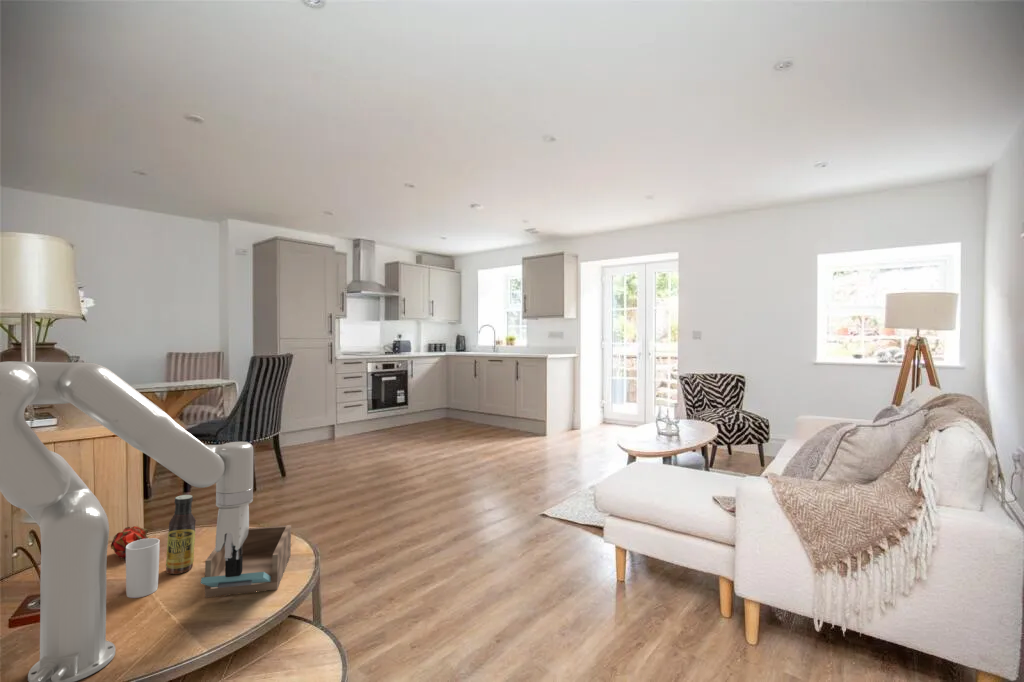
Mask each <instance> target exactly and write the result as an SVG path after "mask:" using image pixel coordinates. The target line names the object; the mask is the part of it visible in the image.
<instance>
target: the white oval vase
mask: <svg viewBox="0 0 1024 682" xmlns="http://www.w3.org/2000/svg"><path fill="white" fill-rule="evenodd" d="M159 569H160V539H159V538H155V537H149V538H146V539H141V540H137V541H134V542H131V543H129V544H128V545H127V546H126V559H125V588H126V589H125V593H126V597H127V598H129V599H137V598H144V597H146V596H149V595H151V594H153V593H155V592H157V590H158V588H159V587H158V586H159V572H160V571H159Z"/></svg>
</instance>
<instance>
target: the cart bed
mask: <svg viewBox="0 0 1024 682" xmlns="http://www.w3.org/2000/svg"><path fill="white" fill-rule="evenodd" d="M291 542H292V524H287V525H286V524H285V525H274V526H260V527H259V526H257V527H249V531H248V536H247V538H246V540H245V541H244V543H243V552H242V555H240V556H243V560H242V573H241V574H245V573H256V572H265V573H266V574H268V575H270V576H271V581H270V582H262V583H252V584H251V585H243V586H233V587H223V588H218V587H210V586H207V585H204V598H205V597H206V598H213V597H212V596H215V597H221V595H225V596H230V595H229V594H235V595H239V594H238V593H244V594H249V593H248V592H254V593H259V592H258V591H264V592H266V591H265V590H273V591H278V589H279V586H280V584H281V582H280V581H282V579H283V576H284V574H285V571H286V568H287V567H288V566H287V565H288V564H289V561H290V559H289V558H291V553H292V552H291V551H292V548H291V547H292V545H291V544H292V543H291ZM204 562H205V565H204V569H205V571H204V574H205V575H204V577H214V576H224V575H225V545H224V547H223V548H222V549H221V551H219V552H216V551H215V548H214V549H213V550H212V551H211V553H210V554H209V556H207V558H206V559H205V561H204ZM287 563H288V564H287ZM283 573H284V574H283ZM256 591H257V592H256Z"/></svg>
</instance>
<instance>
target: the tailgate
mask: <svg viewBox="0 0 1024 682" xmlns="http://www.w3.org/2000/svg"><path fill="white" fill-rule="evenodd" d="M270 581H271V576H270V575H268V574H266V573H265V572H256V573H245V574H241V575H240V576H234V577H225V575H224V576H214V577H205V576H204V577H201V578H200V584H201V585H204V586H205V585H207V586H210V587H218V588H223V587H233V586H243V585H251V584H252V583H262V582H270Z"/></svg>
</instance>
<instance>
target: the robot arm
mask: <svg viewBox="0 0 1024 682" xmlns="http://www.w3.org/2000/svg"><path fill="white" fill-rule="evenodd" d="M61 404H62V405H63V404H71V405H73V406H74V407H75V408H76V409H78V410H79V411H81V412H82V413H84V415H87V416H88V417H89V418H91V419H92V420H94V421H95V422H97V423H98V424H100V425H102V426H103V427H104V428H105V429H107V430H108V431H110V432H111V433H113V434H114V435H116V436H117V437H118V438H120V439H122V441H124V442H125V443H127V444H128V445H130V446H131V447H132V448H134V449H136V450H138V451H139V452H141V453H143V454H145V455H146V456H148V457H149V458H151V459H153V460H154V461H155V462H157V463H159V464H160V465H161V466H163V467H164V468H166V469H167V470H169V472H171V473H173V474H175V476H177V477H179V478H180V479H182V480H183V481H184V482H185V483H187V484H189V485H190V486H192V487H195V488H198V489H199V488H209V487H211V486H213V485H215V506H216V507H217V508H218V512H217V517H216V518H217V520H216V530H215V531H216V532H215V547H214V549H215V551H216V552H219V551H221V549H222V548H223V547H224V545H225V577H234V576H240V575H241V573H242V560H243V556H240V555H242V552H243V543H244V541H245V540H246V538H247V536H248V531H249V528H250V509H249V506H250V504H251V503H253V501H254V446H253V444H251V443H250V442H248V441H231V442H227V443H223V444H205V443H203V442H202V441H201V440H199V439H198V437H197V438H196V437H195V436H194V435H193V434H192V433H190V432H189V431H187V430H186V429H185V428H184V427H183V426H181V425H180V424H179V423H178V422H176V421H175V420H174V419H173V418H172V417H171V415H169V414H168V413H167V412H165V411H164V410H163V409H162V408H160V407H159V406H158V405H157V404H156V403H154V402H153V401H151V400H150V399H149V398H147V396H145V395H144V394H142V393H141V392H139V391H138V390H137V389H135V388H134V387H133V386H131V385H130V384H129V383H128V382H127V381H125V380H124V379H122V378H121V377H120V376H119V375H117V373H114V372H113V371H112V370H110V369H109V368H107V367H106V366H103V365H102V364H98V363H95V362H87V361H86V362H84V361H81V362H78V361H77V362H75V361H74V362H61V361H59V362H57V361H55V362H52V361H44V362H43V361H15V360H14V361H13V360H12V361H9V360H8V361H0V493H1V495H3V498H4V499H5V500H6V501H7V502H8V503H10V504H11V505H12V506H14V507H16V508H18V509H21V510H24V511H25V512H26V513H27V514H28V516H30V517H31V518H32V520H33V521H34V522H35V523H36V524H37V526H39V531H40V532H39V533H40V580H39V581H40V583H39V584H40V588H39V591H40V592H39V593H40V600H39V601H40V604H39V606H40V609H39V610H40V614H39V617H40V618H39V619H40V620H39V623H40V625H39V626H40V627H39V660H38V661H37V662H36V663H34V665H32V667H31V668H30V669H29V671H28V674H27V681H28V682H79V681H80V680H81V681H82V680H83V679H85V678H88V677H90V676H92V675H93V674H96V673H97V672H98V671H100V670H102V669H103V668H104V667H106V666H107V665H108V664H109V663H111V661H112V660H113V659H114V657H115V656H116V645H115V644H114V642H112V641H109V640H107V638H106V637H107V636H106V635H107V634H106V633H107V632H106V631H107V561H108V560H107V558H108V557H107V556H108V555H107V554H108V545H109V538H110V537H109V535H110V523H109V518H108V516H107V512H106V511H105V509H104V507H103V506H102V505H101V501H99V499H98V498H97V496H96V495H95V494H94V493H93V492H92V490H91V489H90V488H89V487H88V486H87V484H86V483H85V482H84V481H83V479H82V478H81V477H80V476H79V475H78V473H77V472H76V471H75V470H74V468H73V467H72V466H71V465H70V464H69V463H68V461H67V460H66V459H65V458H64V456H62V455H60V454H59V453H57V452H55V451H53V450H49V449H48V448H47V447H48V446H46V445H45V444H44V443H43V441H42V440H41V439H40V438H39V436H38V434H37V433H36V432H35V431H34V430H33V429H32V428H31V426H30V425H29V424H28V423H27V421H26V419H25V411H26V408H27V407H28V406H29V405H30V406H31V405H61Z"/></svg>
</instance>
